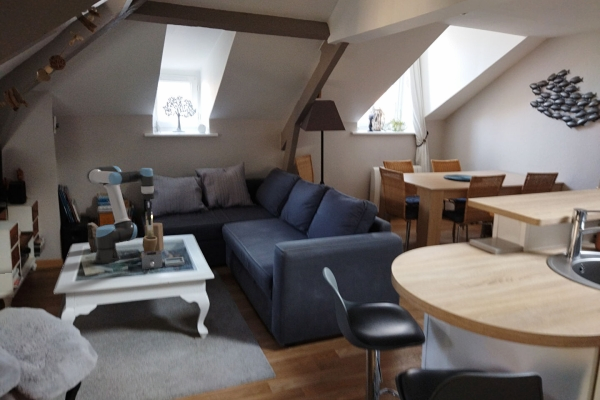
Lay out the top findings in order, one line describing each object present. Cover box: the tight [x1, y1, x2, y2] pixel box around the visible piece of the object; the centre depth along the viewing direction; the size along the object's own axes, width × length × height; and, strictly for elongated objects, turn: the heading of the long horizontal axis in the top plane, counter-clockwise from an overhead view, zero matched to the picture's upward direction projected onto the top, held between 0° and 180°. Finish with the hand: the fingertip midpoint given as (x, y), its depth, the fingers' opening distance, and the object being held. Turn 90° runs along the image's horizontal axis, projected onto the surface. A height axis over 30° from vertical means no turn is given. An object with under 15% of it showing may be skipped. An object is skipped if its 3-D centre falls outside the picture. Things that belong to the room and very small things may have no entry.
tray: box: [163, 256, 185, 268], centre depth 300 cm, size 12×12×2 cm
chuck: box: [141, 250, 163, 270], centre depth 292 cm, size 12×18×8 cm, turn 19°
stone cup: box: [139, 235, 157, 260], centre depth 314 cm, size 15×12×15 cm
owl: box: [86, 221, 100, 253], centre depth 331 cm, size 13×13×20 cm
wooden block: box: [144, 222, 165, 252], centre depth 328 cm, size 10×10×20 cm
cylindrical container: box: [145, 211, 154, 237], centre depth 291 cm, size 4×4×16 cm
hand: (149, 228), depth 292 cm, fingers closed on cylindrical container, 4 cm apart
